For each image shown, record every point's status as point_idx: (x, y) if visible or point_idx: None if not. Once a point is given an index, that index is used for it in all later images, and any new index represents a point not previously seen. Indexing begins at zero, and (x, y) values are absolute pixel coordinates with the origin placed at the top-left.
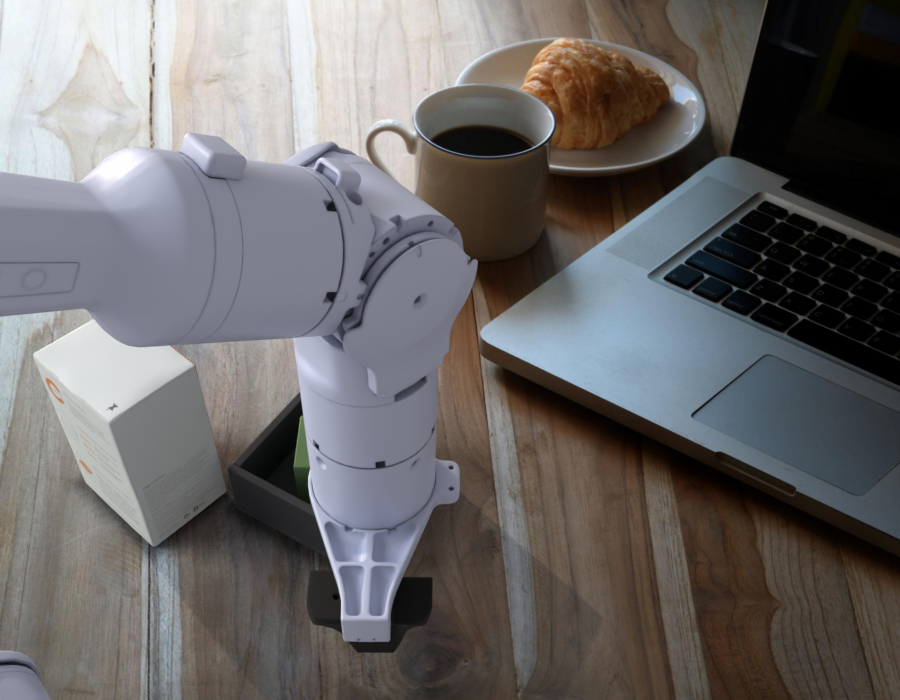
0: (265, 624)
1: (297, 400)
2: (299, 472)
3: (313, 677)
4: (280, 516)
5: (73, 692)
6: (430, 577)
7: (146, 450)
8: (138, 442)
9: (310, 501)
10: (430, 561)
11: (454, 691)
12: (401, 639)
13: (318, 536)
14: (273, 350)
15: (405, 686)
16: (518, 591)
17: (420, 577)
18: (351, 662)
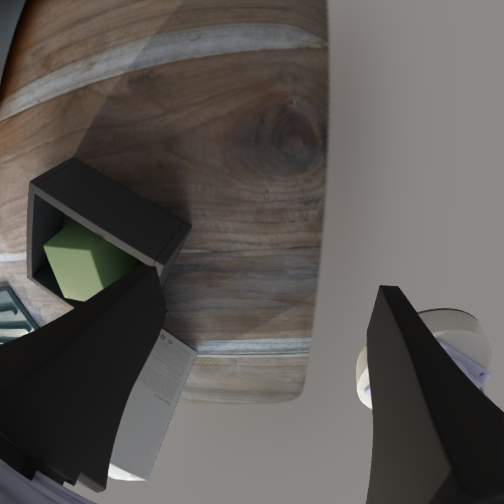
0: (254, 289)
1: (54, 295)
2: None
3: (306, 253)
4: None
5: (304, 381)
6: (465, 494)
7: (146, 429)
8: (145, 442)
9: (133, 263)
10: (172, 143)
11: (327, 117)
12: (421, 319)
13: (168, 267)
14: None
15: (320, 168)
16: (200, 44)
17: (449, 502)
18: (292, 220)
